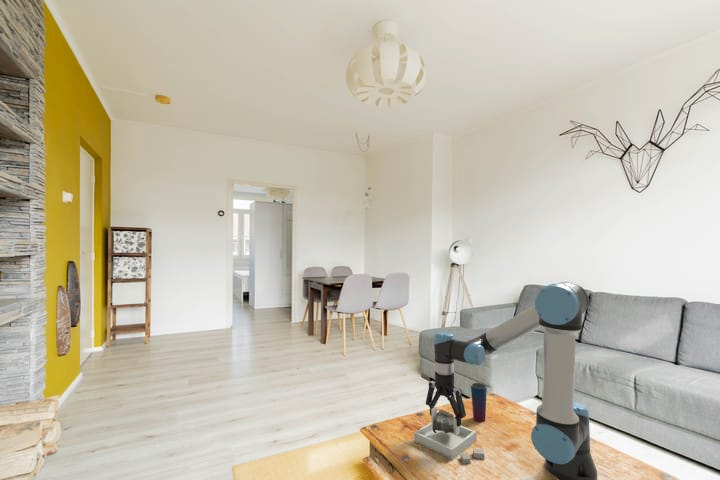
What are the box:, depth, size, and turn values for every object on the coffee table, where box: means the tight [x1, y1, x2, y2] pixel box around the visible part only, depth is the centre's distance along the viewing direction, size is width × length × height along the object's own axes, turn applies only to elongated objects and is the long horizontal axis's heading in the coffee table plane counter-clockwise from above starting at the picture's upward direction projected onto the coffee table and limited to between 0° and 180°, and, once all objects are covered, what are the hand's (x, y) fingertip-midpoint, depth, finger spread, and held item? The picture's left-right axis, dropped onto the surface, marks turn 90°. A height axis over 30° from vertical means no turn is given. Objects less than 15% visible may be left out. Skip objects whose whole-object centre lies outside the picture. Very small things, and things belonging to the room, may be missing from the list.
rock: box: [432, 409, 455, 433], centre depth 137 cm, size 13×9×6 cm, turn 161°
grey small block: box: [472, 448, 486, 460], centre depth 125 cm, size 4×3×2 cm
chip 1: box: [459, 453, 472, 464], centre depth 123 cm, size 3×3×2 cm
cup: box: [470, 382, 488, 423], centre depth 153 cm, size 7×7×15 cm
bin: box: [413, 421, 478, 461], centre depth 136 cm, size 17×18×4 cm
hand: (445, 428), depth 136 cm, fingers closed on rock, 10 cm apart
